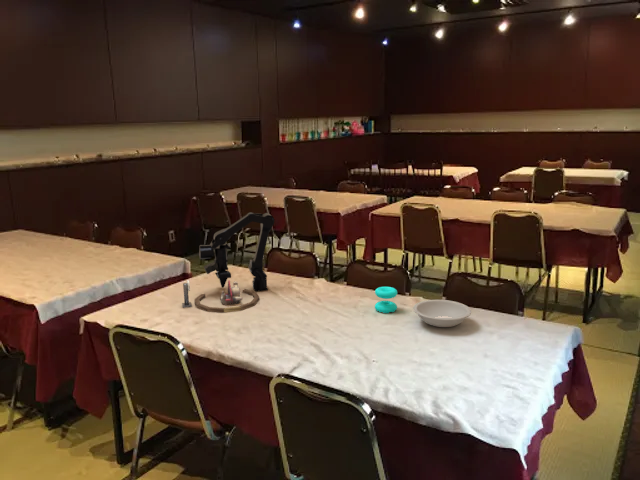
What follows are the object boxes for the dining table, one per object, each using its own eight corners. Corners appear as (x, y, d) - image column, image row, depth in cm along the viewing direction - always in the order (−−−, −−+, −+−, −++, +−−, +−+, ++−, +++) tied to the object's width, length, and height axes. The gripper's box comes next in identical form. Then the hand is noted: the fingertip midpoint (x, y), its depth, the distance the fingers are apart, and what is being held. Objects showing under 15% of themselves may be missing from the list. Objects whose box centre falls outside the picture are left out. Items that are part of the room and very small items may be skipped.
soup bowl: (472, 336, 218) (473, 321, 216) (411, 332, 222) (412, 317, 221) (468, 315, 241) (469, 301, 239) (413, 312, 245) (414, 298, 244)
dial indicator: (190, 303, 260) (188, 278, 257) (191, 307, 255) (189, 281, 253) (182, 304, 259) (180, 279, 256) (183, 308, 254) (181, 282, 251)
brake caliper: (214, 295, 264) (228, 275, 264) (233, 306, 268) (246, 286, 268) (217, 303, 253) (232, 281, 253) (236, 314, 258) (251, 293, 258)
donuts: (375, 292, 242) (375, 285, 251) (374, 313, 244) (374, 306, 254) (397, 292, 241) (396, 285, 250) (397, 314, 243) (396, 306, 253)
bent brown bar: (253, 290, 278) (253, 288, 277) (264, 307, 254) (264, 304, 253) (193, 297, 268) (192, 294, 268) (199, 315, 244) (198, 312, 244)
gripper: (202, 254, 277) (204, 283, 280) (207, 263, 259) (209, 294, 263) (224, 252, 280) (225, 281, 284) (230, 261, 263) (232, 292, 266)
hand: (222, 287), depth 274 cm, fingers closed
